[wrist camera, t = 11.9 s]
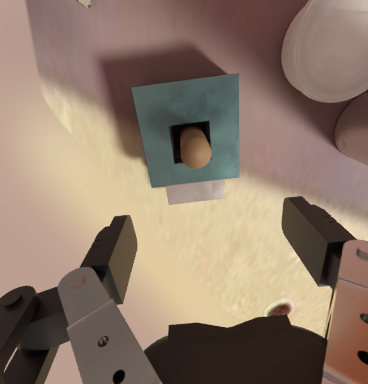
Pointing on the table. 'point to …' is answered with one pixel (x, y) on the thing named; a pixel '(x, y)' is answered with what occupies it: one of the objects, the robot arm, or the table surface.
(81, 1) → the caliper
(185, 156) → the pin
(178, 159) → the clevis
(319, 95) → the ramekin
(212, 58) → the table surface
